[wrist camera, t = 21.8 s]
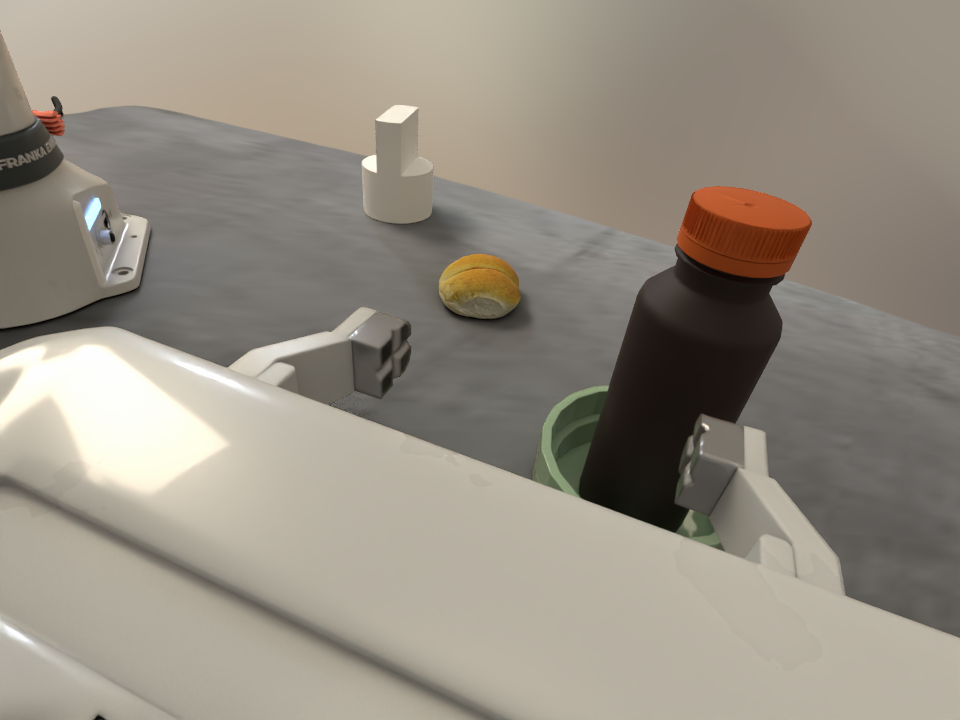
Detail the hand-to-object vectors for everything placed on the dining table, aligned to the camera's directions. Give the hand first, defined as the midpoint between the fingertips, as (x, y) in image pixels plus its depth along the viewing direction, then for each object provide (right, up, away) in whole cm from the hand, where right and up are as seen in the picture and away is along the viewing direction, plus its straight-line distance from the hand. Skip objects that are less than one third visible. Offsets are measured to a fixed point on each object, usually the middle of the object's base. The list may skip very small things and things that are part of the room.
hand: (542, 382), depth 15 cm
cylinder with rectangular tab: (-13, +21, +57) cm, 62 cm away
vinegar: (+8, -9, +20) cm, 24 cm away
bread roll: (-2, +7, +40) cm, 41 cm away
